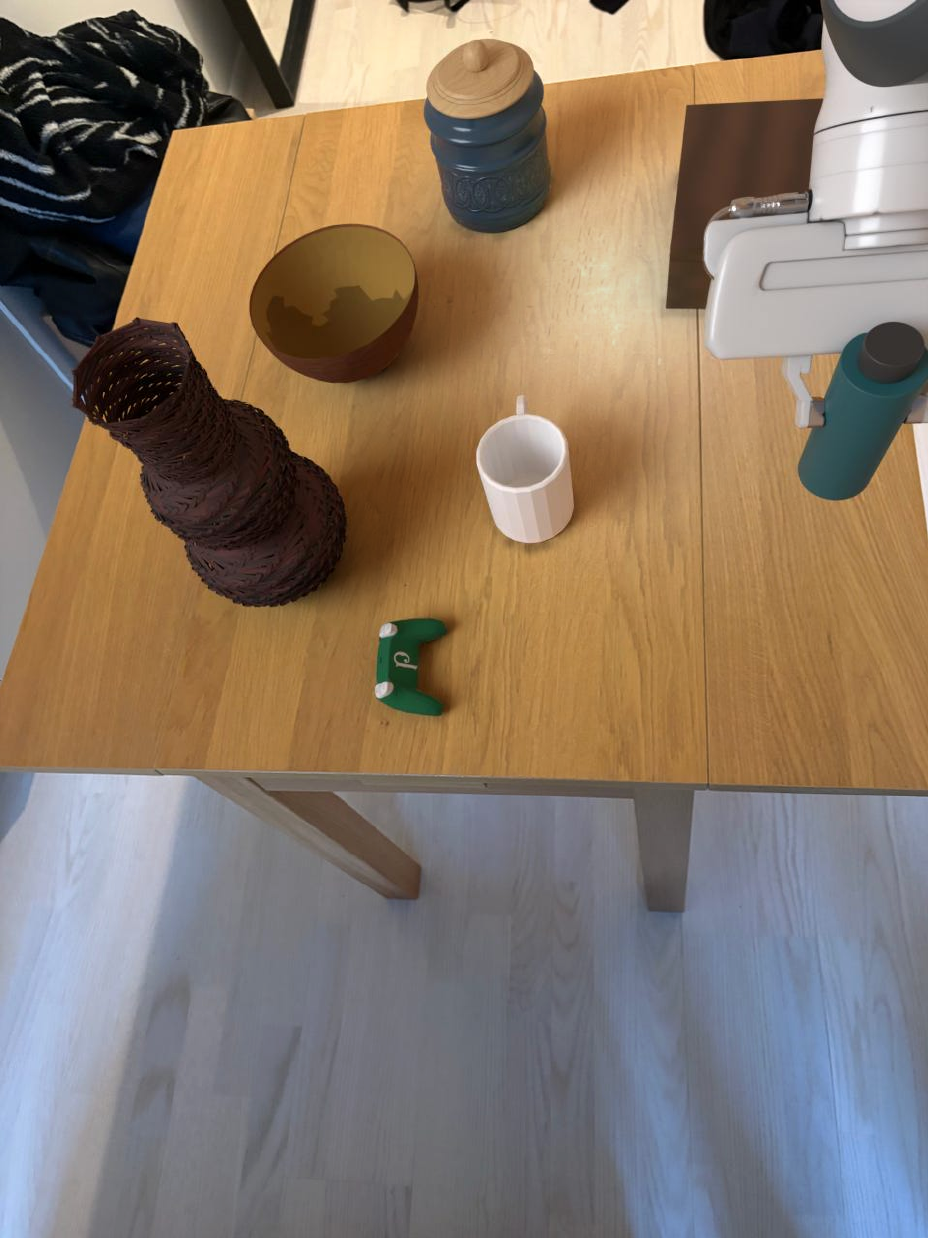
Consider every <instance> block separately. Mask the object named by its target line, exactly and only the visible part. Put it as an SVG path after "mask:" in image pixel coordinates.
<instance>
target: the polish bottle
mask: <svg viewBox="0 0 928 1238" xmlns="http://www.w3.org/2000/svg"><path fill="white" fill-rule="evenodd" d="M927 379H928V350H927V348H926V347H925V344H924V339H923V337H922V335H921V334H920V332H919V331H918V330H917V329H915V328H914V327H912V326H910V325H908V324H905V323H901V322H886V323H882V324H879V325H877V326H875V327H874V328H872V329H871V330H870V331H869V332H868V333H861V334H859V335H857V336H856V337H854V338H853V339H852V340H850V341H849V342H848V343H847V344H846V346H845V347H844V349H843V351H842V353H840V355H839V358H838V360H837V363H836V366H835V368H834V371H833V374H832V376H831V378H830V382H829V383H828V386H827V389H826V391H825V394H824V397H823V399H824V400H826V405H825V412H824V413H823V416H824V418H825V420H824V425H823V427H818V428H811V429H810V433H809V434H808V438H807V440H806V442H805V445H804V448H803V450H802V453H801V455H800V458H799V460H798V463H797V475H798V478H799V481H800V483H801V484H802V485H803V487H804V488H805V489H806V490H807V491H808V492H809V493H811V494H812V495H814V496H816V497H818V498H819V499H823V500H827V501H835V502H836V501H839V502H840V501H845V500H850V499H853V498H854V497H856V496H858V495H860V494H861V493H862V492H864V491H865V489H866V488H867V487H868V486H869V484H870V483H871V481H872V478H873V477H874V475H875V473H876V472H877V470H878V468H879V466H880V465H881V463H882V461H883V459H884V457H885V456H886V454H887V452H888V450H889V449H890V447H891V445H892V444H893V442H894V440H895V438H896V436H897V434H898V433H899V431H900V429H901V427H902V425H903V424H904V423H903V422H904V420H905V418H906V417H907V415H908V413H909V411H910V410H911V408H912V406H913V404H914V403H915V401H916V399H917V397H918V395H919V394H920V392H921V390H922V388H923V387H924V385H925V383H926V381H927Z"/></svg>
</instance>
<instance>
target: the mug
mask: <svg viewBox="0 0 928 1238" xmlns="http://www.w3.org/2000/svg"><path fill="white" fill-rule="evenodd" d="M515 405H516V406H515V411H516V414H513V415H510V416H508V417H505V418H503V419H500V420H499V421H497V422H496V423H495V424H493V425H491V426H490V427H488V428H487V430H486V431H485V433H484V434H483V436H482V437H481V438H480V439H479V443H478V444H477V445H478V446H477V448H476V454H475V455H476V456H475V457H476V459H475V460H476V461H475V462H476V466H477V471H478V473H479V477H480V480H481V482H482V483H481V484H482V486H483V489H484V493H485V496H486V500H487V504H488V507H489V510H490V513H491V517H492V519H493V522H494V524H495V526H496V527H497V528H498V530H499V531H500V532H501V533H502V534H503V535H504V536H506V537H508V538H509V539H511V540H512V541H514V542H519V543H524V544H534V543H535V544H537V543H542V542H545V541H548V540H550V539H553V538H554V537H555V536H557V535H558V534H559V533H561V532H562V531H563V530H565V529H566V526H567V525H568V524H569V523H570V521H571V519H572V516H573V512H574V509H575V502H574V490H573V482H572V471H571V462H570V452H569V443H568V440H567V438H566V435H565V432H564V431H563V429H562V428H561V427H560V426H559V425H557V424H556V422H554V421H553V420H552V419H549V418H547V417H544V415H543V416H542V415H540V414H539V415H538V414H534V413H533V414H532V413H530V411H529V402H528V401H527V399H526V396H525V395H523V394H521V395H517V397H516V404H515Z"/></svg>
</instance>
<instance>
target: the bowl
mask: <svg viewBox="0 0 928 1238" xmlns="http://www.w3.org/2000/svg"><path fill="white" fill-rule="evenodd" d="M419 297H420V295H419V279H418V273H417V268H416V264H415V261H414V259H413V257H412V254H411V252H410V251H409V249H408V247H407V246H406V245H405V244H404V243H403V242H402V240H400V238H398V237H397V236H396V235H394V234H393V233H391V232H389V231H387V230H385V229H384V228H381V227H378V226H373V225H370V224H364V223H341V224H333V225H328V226H324V227H321V228H318V229H315V230H313V231H310V232H308V233H305V234H304V235H302V236H299V237H298V238H296V239H294V240H292V241H291V242H289V243H288V244H286V245H285V246H283V248H281V249H280V250H279V251H278V252H276V254H274V255H273V256H272V257H271V259H269V261H268V262H267V263H266V264H265V265H264V267H263V268H262V270H261V271H260V272H259V274H258V276H257V278H256V280H255V282H254V283H253V286H252V289H251V293H250V296H249V305H248V313H249V316H250V322H251V325H252V327H253V328H252V329H254V332H255V333H256V335H257V337H258V339H259V340H260V342H261V343H262V344H263V346H264V347H265V348H266V349H267V351H269V352H270V353H271V355H272V356H274V358H276V359H277V360H278V361H280V362H281V364H283V365H285V366H286V367H288V368H289V369H291V370H292V371H294V372H296V373H298V374H300V375H302V376H304V377H307V378H310V379H312V380H316V381H317V382H323V383H330V384H350V383H355V382H359V381H363V380H365V379H368V378H370V377H373V376H375V375H376V374H378V373H380V372H381V371H382V370H384V369H385V368H387V367H388V366H389V365H390V364H391V363H392V362H393V361H394V360H395V359H396V358H397V357H398V356H399V355H400V353H401V352H402V350H403V349H404V347H405V346H406V344H407V342H408V340H409V338H410V335H411V333H412V331H413V328H414V326H415V322H416V318H417V313H418V307H419Z"/></svg>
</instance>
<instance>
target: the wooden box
mask: <svg viewBox="0 0 928 1238" xmlns="http://www.w3.org/2000/svg"><path fill="white" fill-rule="evenodd" d="M823 98H824V97H822V98H821V97H820V98H801V99H783V100H782V99H779V100H778V99H777V100H761V101H760V100H759V101H739V102H738V101H737V102H717V103H716V102H715V103H699V104H696V103H695V104H686V105H685V113H684V123H683V133H682V141H681V149H680V158H679V167H678V176H677V185H676V194H675V202H674V210H673V211H674V212H673V219H672V220H673V221H672V229H671V238H670V247H669V258H668V273H667V286H666V299H665V309H668V310H669V309H670V310H672V309H675V310H676V309H677V310H706V305H707V299H708V293H709V288H710V283H711V277H710V276H709V275H708V274H707V273H706V271H705V269H704V265H703V238H704V231H705V229H706V226H707V224H708V222H709V221H710V219H711V218H712V217H713V216H714V214H716V213H717V212H718V211H720V210H721V209H723V208H725V207H728V206H730V203H731V201H732V200H735V199H738V198H743V197H754V198H763V197H769V196H771V197H772V196H774V195H776V196H777V195H779V194H785V193H796V192H806V191H809V182H810V172H811V160H812V149H813V137H814V129H815V124H816V121H817V118H818V115H819V112H820V110H821V106H822V103H823ZM806 213H807V212H806ZM764 216H775V215H766V214H765V215H759V216H753V217H764ZM753 217H751V218H753ZM730 219H736V218H731V217H730V213H729V214H727V215H725V216H723V217H721V218H720V219H719V220H730ZM719 220H718V221H719ZM807 224H809V223H808V222H807Z"/></svg>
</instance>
